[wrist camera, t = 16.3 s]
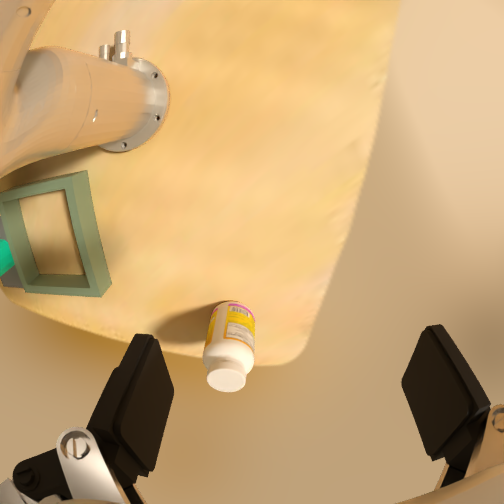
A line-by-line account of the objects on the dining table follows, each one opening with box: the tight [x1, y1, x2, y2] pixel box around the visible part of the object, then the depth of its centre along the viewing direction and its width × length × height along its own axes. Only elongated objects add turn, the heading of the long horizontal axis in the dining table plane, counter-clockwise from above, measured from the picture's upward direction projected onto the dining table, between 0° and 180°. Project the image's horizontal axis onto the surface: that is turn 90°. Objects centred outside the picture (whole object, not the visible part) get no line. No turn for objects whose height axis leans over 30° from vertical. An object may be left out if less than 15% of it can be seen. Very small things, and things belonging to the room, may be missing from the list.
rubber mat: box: [0, 216, 24, 288], centre depth 40 cm, size 15×11×1 cm
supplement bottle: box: [203, 301, 255, 392], centre depth 38 cm, size 7×7×13 cm
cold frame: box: [0, 170, 112, 297], centre depth 37 cm, size 18×18×4 cm
